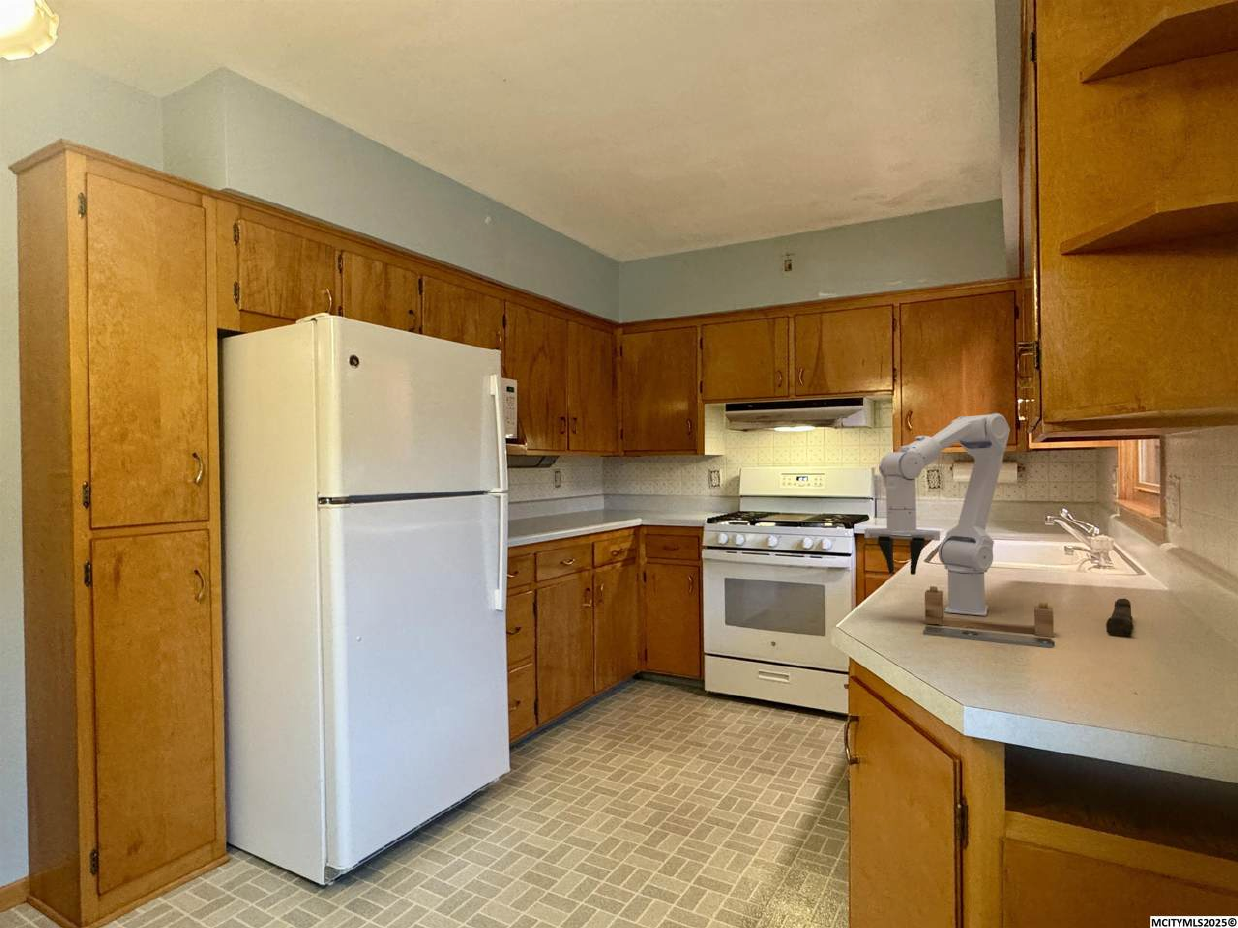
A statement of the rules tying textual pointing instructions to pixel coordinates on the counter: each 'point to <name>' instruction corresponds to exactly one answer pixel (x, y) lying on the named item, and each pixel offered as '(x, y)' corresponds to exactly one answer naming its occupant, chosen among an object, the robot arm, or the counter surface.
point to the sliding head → (933, 606)
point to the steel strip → (990, 636)
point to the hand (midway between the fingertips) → (902, 573)
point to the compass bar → (1040, 628)
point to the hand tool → (1120, 620)
